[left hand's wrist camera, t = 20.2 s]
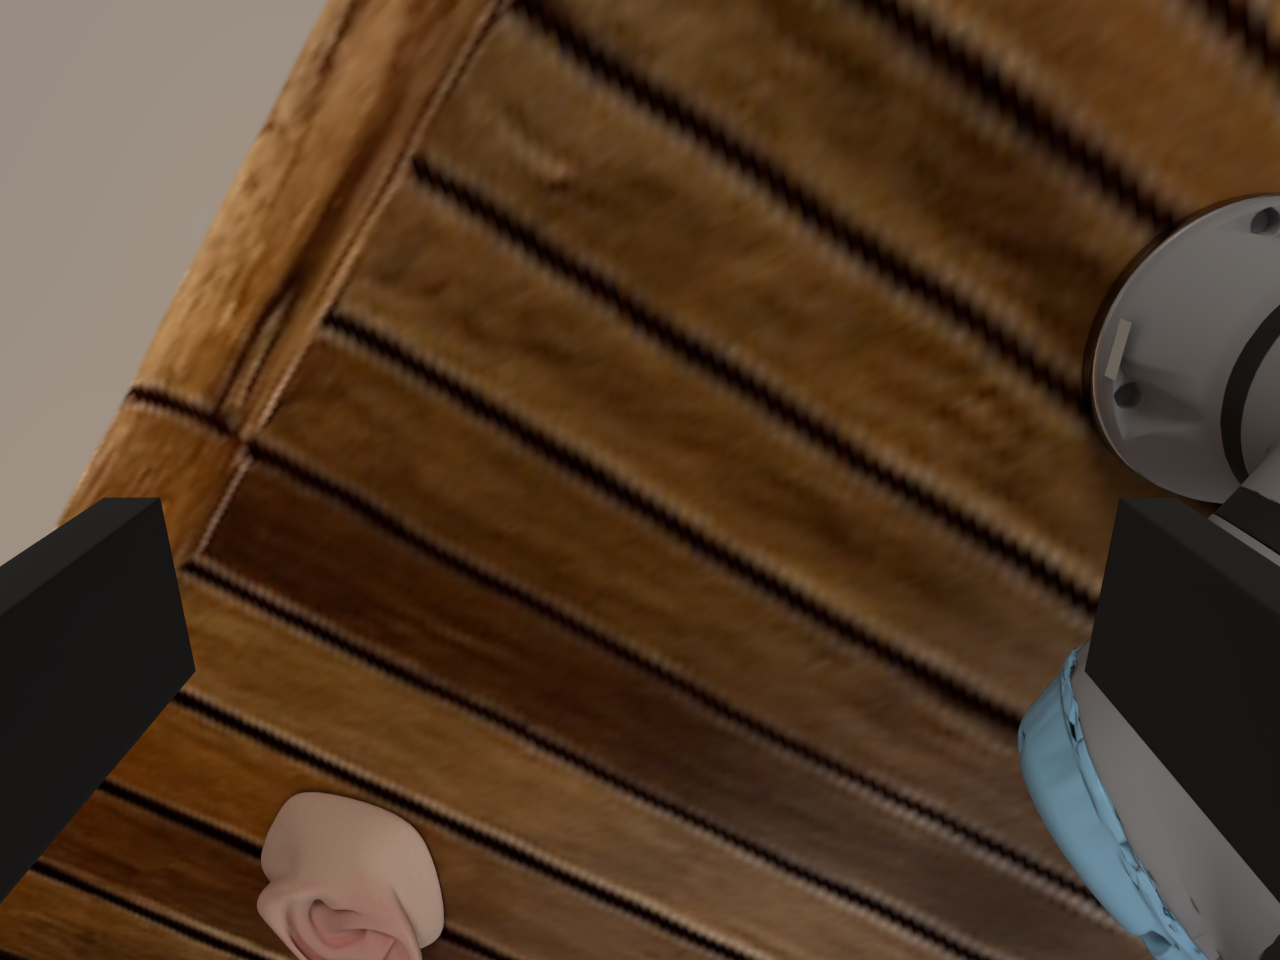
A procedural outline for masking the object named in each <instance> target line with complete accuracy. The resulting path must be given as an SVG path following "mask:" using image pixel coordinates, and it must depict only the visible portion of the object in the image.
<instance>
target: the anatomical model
mask: <svg viewBox="0 0 1280 960" xmlns="http://www.w3.org/2000/svg"><path fill="white" fill-rule="evenodd" d="M261 864H262V869H263V871H264V873H265V875H266V876H267V878H268V879H269V881H270V883H269V884H268V885H267V887H266V888H265V889H264V890H263V891H262V893H261V894H260V896H259V898H258V901H257V909H258V911H259V914H260V915H261V916H262V918H263V919H264V920H265V921H266V923H267V924H268V925H269V926H270V927H271V928H272V929H273V931H274V932H275V933H276V934H277V935H278V936H279V937H280V939H281V940H282V941H283V942H284V943H285V944H286V945H287V946H288V948H289V949H290V950H291V951H292V952H293V953H294V954H295V955H296V956H297V957H298V958H299V959H300V960H422V955H421V950H420V948H423V947H426V946H427V945H429V944H431V943H432V942H434V941H435V940H436V939H437V938H438V937H439V935H440V934H441V932H442V929H443V924H444V908H443V901H442V895H441V890H440V885H439V881H438V877H437V873H436V870H435V867H434V864H433V861H432V858H431V855H430V853H429V851H428V848H427V846H426V844H425V842H424V840H423V839H422V837H421V836H420V834H419V833H418V832H417V831H416V830H415V829H414V828H413V827H412V826H411V825H410V824H409V823H408V822H406V821H405V820H404V819H402V818H400V817H399V816H397V815H395V814H393V813H391V812H389V811H387V810H385V809H382V808H380V807H377V806H374V805H372V804H369V803H366V802H362V801H358V800H355V799H351V798H347V797H343V796H338V795H333V794H326V793H320V792H304V793H300V794H297V795H294V796H292V797H291V798H290V799H289V800H288V801H287V802H286V803H285V804H284V805H283V807H282V808H281V810H280V811H279V813H278V815H277V816H276V818H275V820H274V822H273V824H272V826H271V828H270V830H269V832H268V834H267V837H266V840H265V843H264V847H263V851H262V855H261Z"/></svg>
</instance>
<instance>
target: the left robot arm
mask: <svg viewBox="0 0 1280 960" xmlns="http://www.w3.org/2000/svg"><path fill="white" fill-rule="evenodd" d="M1084 390H1085V397H1086V403H1087V407H1088V410H1089V414H1090V417H1091V419H1092V422H1093V424H1094V427H1095V429H1096V430H1097V432H1098V434H1099V436H1100V438H1101V439H1102V441H1103V442H1104V444H1105V445H1106V446H1107V448H1108V449H1109V450H1110V451H1111V452H1112V453H1113V454H1114V456H1115V457H1116V458H1117V459H1119V460H1120V461H1121V462H1122V463H1123V464H1124V465H1125V466H1127V467H1128V468H1130V469H1131V470H1133V471H1134V472H1136V473H1137V474H1139V475H1140V476H1142V477H1143V478H1145V479H1146V480H1148V481H1150V482H1151V483H1153V484H1155V485H1157V486H1159V487H1161V488H1164V489H1166V490H1169V491H1171V492H1174V493H1177V494H1179V495H1182V496H1185V497H1188V498H1192V499H1196V500H1201V501H1207V502H1215V503H1223V504H1222V505H1221V506H1220V507H1219V508H1218V510H1217V511H1216V512H1214V513H1213V514H1211V515H1210V516H1209V517H1208V519H1207V518H1206V517H1204V516H1203V515H1201V514H1200V513H1198V512H1197V511H1195V510H1194V509H1192V508H1191V507H1189V506H1188V505H1186V504H1185V503H1183V502H1182V501H1180V500H1179V499H1177V498H1120V500H1119V505H1118V510H1117V515H1116V519H1115V524H1114V529H1113V534H1112V539H1111V544H1110V549H1109V554H1108V558H1107V563H1106V568H1105V573H1104V578H1103V583H1102V588H1101V592H1100V597H1099V602H1098V607H1097V612H1096V617H1095V622H1094V627H1093V631H1092V636H1091V638H1090V639H1089V640H1088V641H1087V642H1086V643H1085V644H1084V645H1081V646H1080V647H1077V648H1075V649H1073V651H1071V652H1070V653H1069V655H1068V656H1067V657H1066V659H1065V662H1064V664H1063V666H1062V670H1061V672H1060V673H1059V674H1058V675H1057V676H1056V678H1055V679H1054V680H1053V681H1052V682H1051V683H1050V684H1049V686H1048V687H1047V688H1046V689H1045V690H1044V691H1043V692H1042V694H1041V695H1040V696H1039V697H1038V698H1037V699H1036V700H1035V702H1034V703H1033V704H1032V705H1031V706H1030V707H1029V709H1028V710H1027V711H1026V713H1025V715H1024V717H1023V718H1022V721H1021V724H1020V727H1019V731H1018V753H1019V756H1020V767H1021V772H1022V775H1023V778H1024V781H1025V784H1026V786H1027V789H1028V792H1029V794H1030V796H1031V799H1032V801H1033V803H1034V805H1035V807H1036V809H1037V811H1038V813H1039V815H1040V816H1041V818H1042V820H1043V822H1044V824H1045V825H1046V827H1047V829H1048V831H1049V832H1050V834H1051V836H1052V837H1053V839H1054V840H1055V842H1056V844H1057V845H1058V847H1059V848H1060V850H1061V851H1062V853H1063V854H1064V856H1065V857H1066V859H1067V860H1068V861H1069V863H1070V864H1071V866H1072V867H1073V868H1074V870H1075V871H1076V873H1077V874H1078V875H1079V877H1080V878H1081V879H1082V881H1083V882H1084V883H1085V885H1086V886H1087V887H1088V888H1089V890H1090V891H1091V892H1092V893H1093V895H1094V896H1095V897H1096V898H1097V900H1098V901H1099V902H1100V903H1101V904H1102V905H1103V907H1104V908H1105V909H1106V910H1107V911H1108V912H1109V914H1110V915H1111V916H1112V917H1113V918H1114V919H1115V920H1116V921H1117V922H1118V923H1119V925H1120V926H1121V927H1123V928H1124V929H1125V930H1126V931H1127V932H1128V933H1129V934H1131V935H1138V936H1139V937H1140V938H1141V940H1142V941H1143V942H1144V944H1145V945H1146V947H1147V948H1148V950H1149V951H1150V953H1151V954H1152V956H1153V957H1154V958H1155V959H1156V960H1280V193H1258V194H1249V195H1244V196H1239V197H1234V198H1230V199H1227V200H1224V201H1221V202H1218V203H1215V204H1212V205H1210V206H1207V207H1205V208H1202V209H1200V210H1198V211H1196V212H1194V213H1192V214H1190V215H1188V216H1186V217H1184V218H1183V219H1181V220H1180V221H1178V222H1176V223H1175V224H1173V225H1172V226H1170V227H1169V228H1167V229H1166V230H1165V231H1163V232H1162V233H1161V234H1159V235H1158V236H1157V237H1155V238H1154V239H1153V240H1152V241H1151V242H1150V243H1149V244H1147V245H1146V246H1145V247H1144V248H1143V249H1142V250H1141V251H1140V252H1139V253H1138V254H1137V255H1136V256H1135V257H1134V258H1133V259H1132V260H1131V261H1130V263H1129V264H1128V265H1127V266H1126V268H1125V269H1124V270H1123V271H1122V272H1121V274H1120V275H1119V276H1118V278H1117V279H1116V281H1115V282H1114V284H1113V285H1112V287H1111V288H1110V290H1109V292H1108V293H1107V295H1106V297H1105V299H1104V300H1103V302H1102V304H1101V306H1100V309H1099V311H1098V313H1097V315H1096V317H1095V320H1094V323H1093V326H1092V328H1091V331H1090V335H1089V339H1088V343H1087V347H1086V354H1085V360H1084ZM195 671H196V670H195V665H194V661H193V656H192V651H191V646H190V641H189V636H188V631H187V627H186V622H185V617H184V612H183V607H182V602H181V597H180V592H179V588H178V583H177V578H176V573H175V568H174V563H173V558H172V554H171V549H170V544H169V539H168V534H167V529H166V524H165V519H164V515H163V510H162V505H161V500H160V498H103V499H101V500H100V501H98V502H97V503H95V504H94V505H92V506H91V507H89V508H88V509H86V510H85V511H83V512H82V513H80V514H79V515H77V516H76V517H74V518H73V519H71V520H70V521H68V522H67V523H65V524H64V525H62V526H61V527H59V528H58V529H56V530H55V531H53V532H52V533H50V534H49V535H47V536H46V537H44V538H43V539H41V540H40V541H38V542H36V543H35V544H34V545H32V546H30V547H29V548H27V549H26V550H24V551H23V552H21V553H20V554H18V555H17V556H15V557H14V558H12V559H11V560H9V561H8V562H6V563H5V564H3V565H2V566H0V903H1V902H2V901H3V900H4V898H5V897H6V896H7V895H8V894H9V892H10V891H11V890H12V889H13V888H14V886H15V885H16V884H17V883H18V882H19V881H20V879H21V878H22V877H23V876H24V875H25V873H26V872H27V871H28V870H29V869H30V867H31V866H32V865H33V864H34V863H35V862H36V860H37V859H38V858H39V857H40V856H41V854H42V853H43V852H44V851H45V850H46V848H47V847H48V846H49V845H50V844H51V842H52V841H53V840H54V839H55V838H56V837H57V835H58V834H59V833H60V832H61V831H62V829H63V828H64V827H65V826H66V825H67V823H68V822H69V821H70V820H71V819H72V817H73V816H74V815H75V814H76V813H77V812H78V810H79V809H80V808H81V807H82V806H83V804H84V803H85V802H86V801H87V800H88V798H89V797H90V796H91V795H92V794H93V793H94V791H95V790H96V789H97V788H98V787H99V785H100V784H101V783H102V782H103V781H104V779H105V778H106V777H107V776H108V775H109V773H110V772H111V771H112V770H113V769H114V768H115V766H116V765H117V764H118V763H119V762H120V760H121V759H122V758H123V757H124V756H125V754H126V753H127V752H128V751H129V750H130V748H131V747H132V746H133V745H134V744H135V743H136V741H137V740H138V739H139V738H140V737H141V735H142V734H143V733H144V732H145V731H146V729H147V728H148V727H149V726H150V725H151V724H152V722H153V721H154V720H155V719H156V718H157V716H158V715H159V714H160V713H161V712H162V710H163V709H164V708H165V707H166V706H167V704H168V703H169V702H170V701H171V700H172V699H173V697H174V696H175V695H176V694H177V693H178V691H179V690H180V689H181V688H182V687H183V685H184V684H185V683H186V682H187V681H188V679H189V678H190V677H191V676H192V675H193V674H194V672H195Z"/></svg>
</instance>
